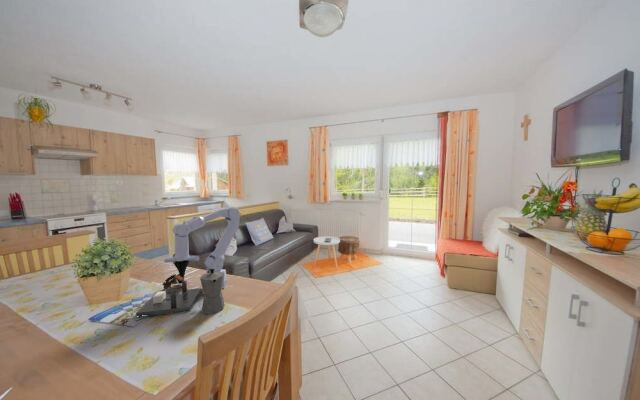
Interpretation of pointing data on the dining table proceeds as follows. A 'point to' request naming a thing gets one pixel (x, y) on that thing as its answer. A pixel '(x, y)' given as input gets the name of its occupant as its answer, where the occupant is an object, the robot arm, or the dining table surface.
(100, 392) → the dining table surface
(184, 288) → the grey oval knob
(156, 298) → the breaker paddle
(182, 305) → the panel
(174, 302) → the black cylinder
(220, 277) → the coffeepot
